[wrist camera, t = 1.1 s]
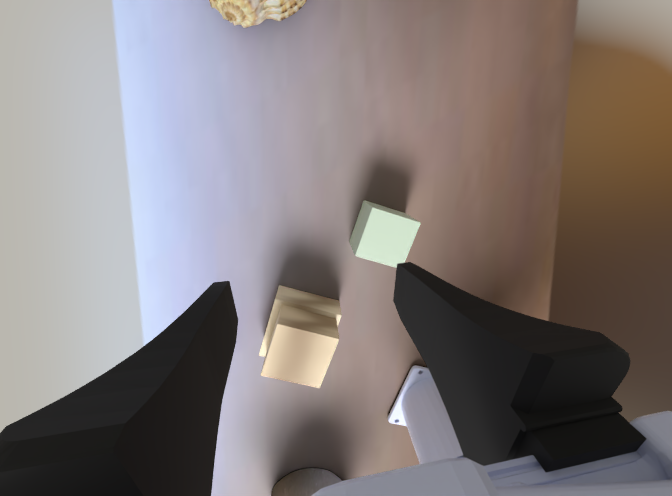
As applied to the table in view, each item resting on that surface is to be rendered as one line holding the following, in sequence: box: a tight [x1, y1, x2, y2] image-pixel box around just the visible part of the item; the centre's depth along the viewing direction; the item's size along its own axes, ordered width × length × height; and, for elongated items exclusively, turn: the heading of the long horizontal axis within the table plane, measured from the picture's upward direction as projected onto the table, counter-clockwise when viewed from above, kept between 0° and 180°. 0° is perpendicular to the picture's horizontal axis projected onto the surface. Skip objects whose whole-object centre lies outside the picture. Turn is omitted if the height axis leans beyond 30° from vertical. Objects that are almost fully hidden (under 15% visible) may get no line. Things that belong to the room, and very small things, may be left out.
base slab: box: [259, 285, 342, 357], centre depth 27 cm, size 6×6×3 cm
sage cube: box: [349, 200, 421, 268], centre depth 24 cm, size 4×4×4 cm
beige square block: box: [261, 304, 339, 388], centre depth 24 cm, size 5×5×3 cm
